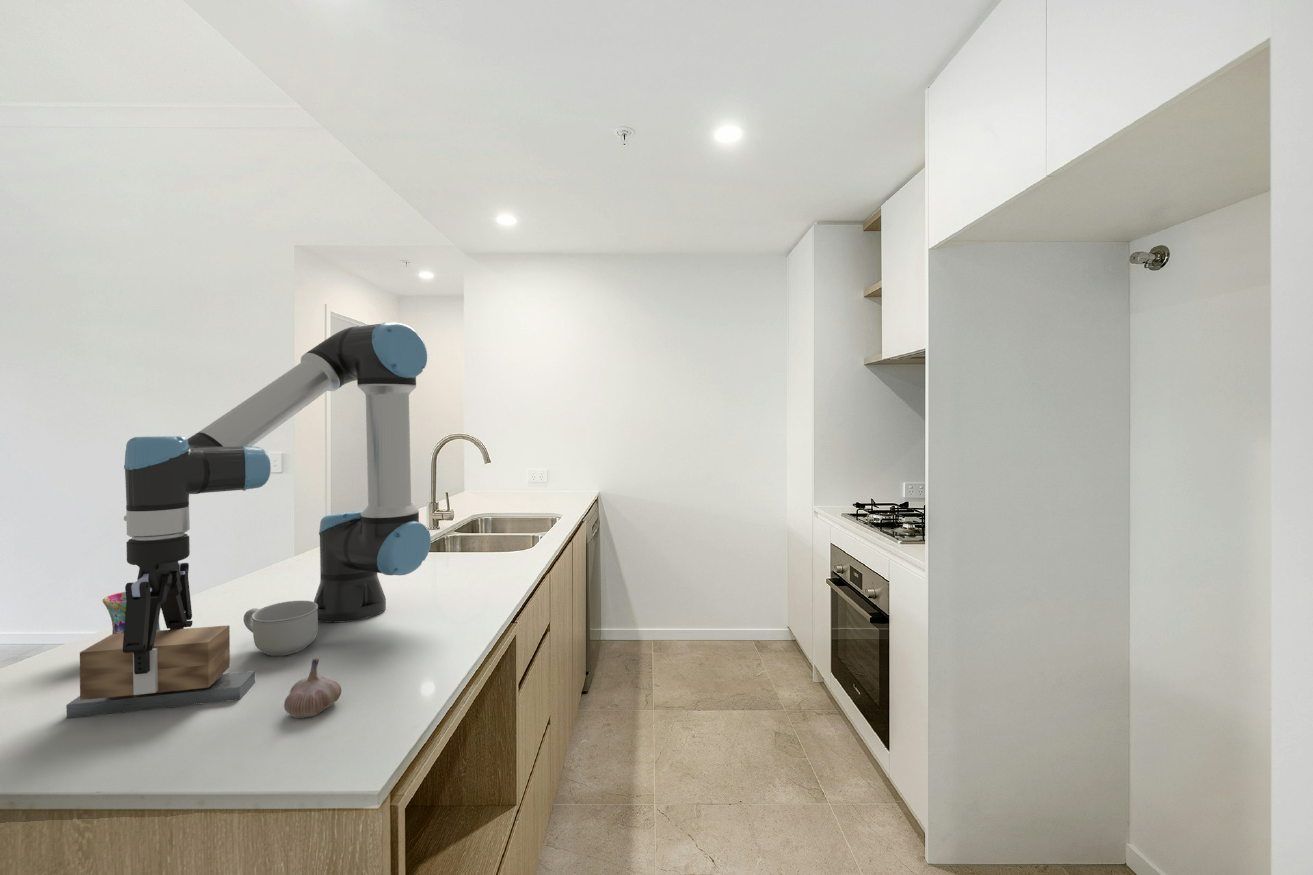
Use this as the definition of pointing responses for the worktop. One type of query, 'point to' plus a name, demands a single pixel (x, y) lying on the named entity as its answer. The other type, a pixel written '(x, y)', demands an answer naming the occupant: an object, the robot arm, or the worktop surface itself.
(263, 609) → the teacup
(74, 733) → the worktop surface
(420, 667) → the worktop surface
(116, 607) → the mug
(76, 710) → the mount rail
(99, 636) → the worktop surface
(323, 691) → the garlic bulb
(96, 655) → the brown wooden block
